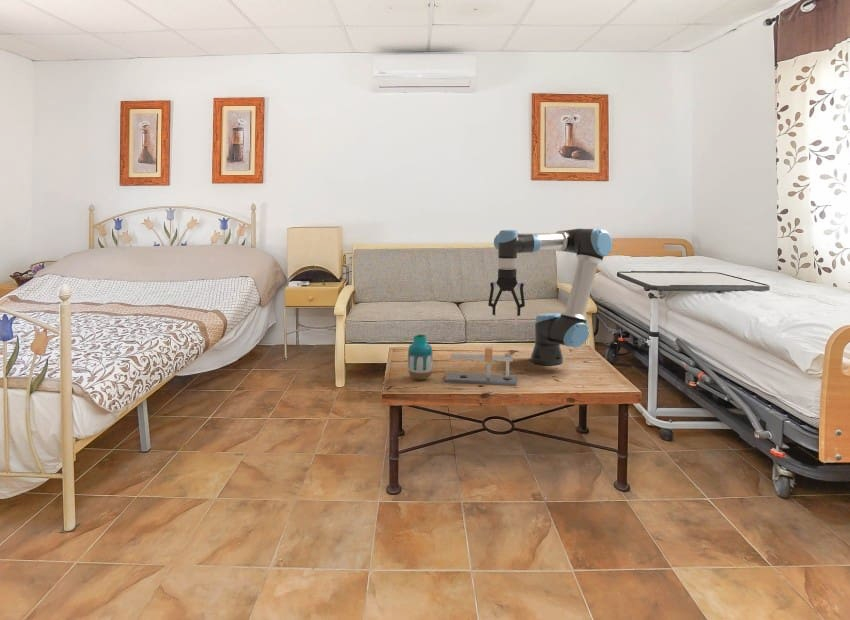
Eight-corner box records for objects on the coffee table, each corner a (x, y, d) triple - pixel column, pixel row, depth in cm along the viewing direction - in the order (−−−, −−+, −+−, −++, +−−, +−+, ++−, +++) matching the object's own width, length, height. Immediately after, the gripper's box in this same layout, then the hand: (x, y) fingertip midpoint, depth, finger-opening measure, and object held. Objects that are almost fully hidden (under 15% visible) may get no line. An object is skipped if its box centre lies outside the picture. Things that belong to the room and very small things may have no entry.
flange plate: (516, 378, 228) (517, 375, 228) (516, 385, 218) (516, 382, 218) (448, 374, 233) (448, 371, 233) (444, 381, 223) (444, 378, 223)
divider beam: (512, 377, 224) (512, 353, 222) (512, 379, 222) (512, 355, 220) (451, 374, 229) (451, 351, 227) (450, 376, 226) (450, 352, 224)
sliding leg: (492, 375, 226) (492, 346, 224) (491, 377, 223) (492, 349, 220) (485, 374, 227) (485, 346, 224) (484, 377, 223) (485, 348, 221)
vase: (407, 375, 232) (407, 333, 229) (431, 374, 233) (431, 332, 230) (408, 383, 222) (408, 338, 218) (433, 382, 223) (433, 338, 219)
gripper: (532, 267, 217) (531, 322, 221) (482, 267, 220) (482, 320, 225) (533, 269, 210) (531, 325, 214) (481, 269, 213) (480, 324, 217)
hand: (506, 323), depth 219 cm, fingers open, 8 cm apart
